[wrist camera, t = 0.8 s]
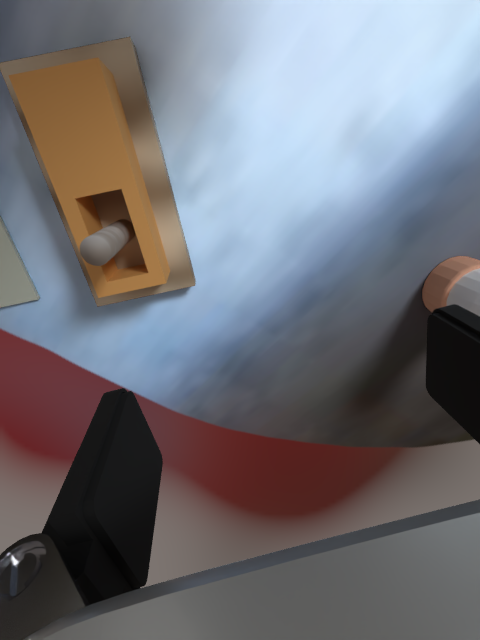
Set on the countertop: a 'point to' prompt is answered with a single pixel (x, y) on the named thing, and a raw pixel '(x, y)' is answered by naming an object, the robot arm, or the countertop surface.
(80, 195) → the link
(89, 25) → the countertop surface
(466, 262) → the pepper shaker
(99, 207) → the peg base
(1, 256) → the mat
